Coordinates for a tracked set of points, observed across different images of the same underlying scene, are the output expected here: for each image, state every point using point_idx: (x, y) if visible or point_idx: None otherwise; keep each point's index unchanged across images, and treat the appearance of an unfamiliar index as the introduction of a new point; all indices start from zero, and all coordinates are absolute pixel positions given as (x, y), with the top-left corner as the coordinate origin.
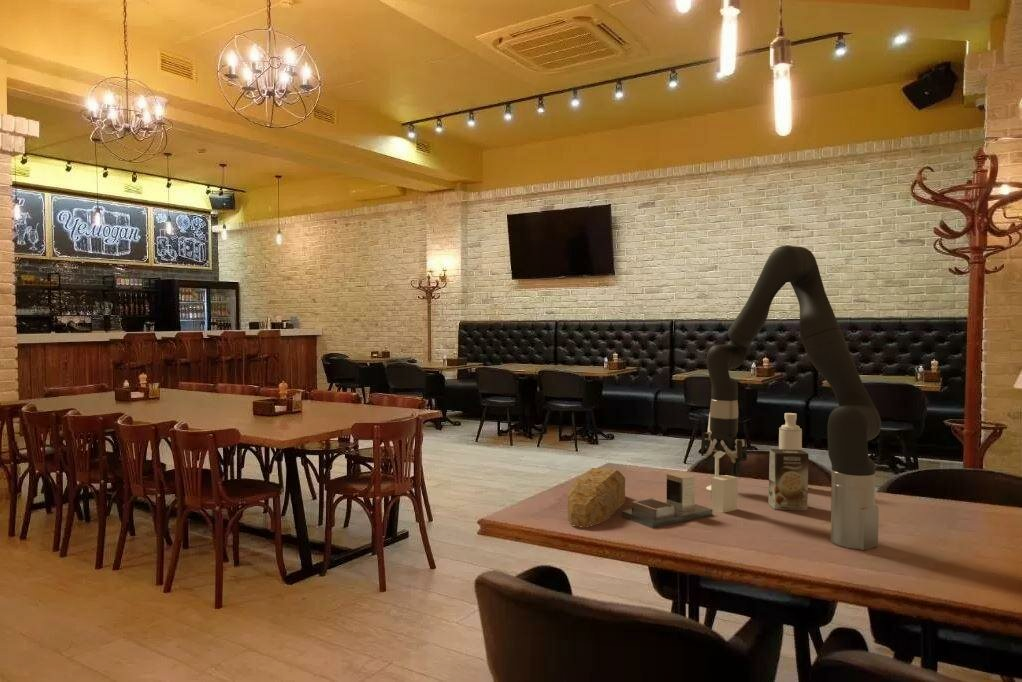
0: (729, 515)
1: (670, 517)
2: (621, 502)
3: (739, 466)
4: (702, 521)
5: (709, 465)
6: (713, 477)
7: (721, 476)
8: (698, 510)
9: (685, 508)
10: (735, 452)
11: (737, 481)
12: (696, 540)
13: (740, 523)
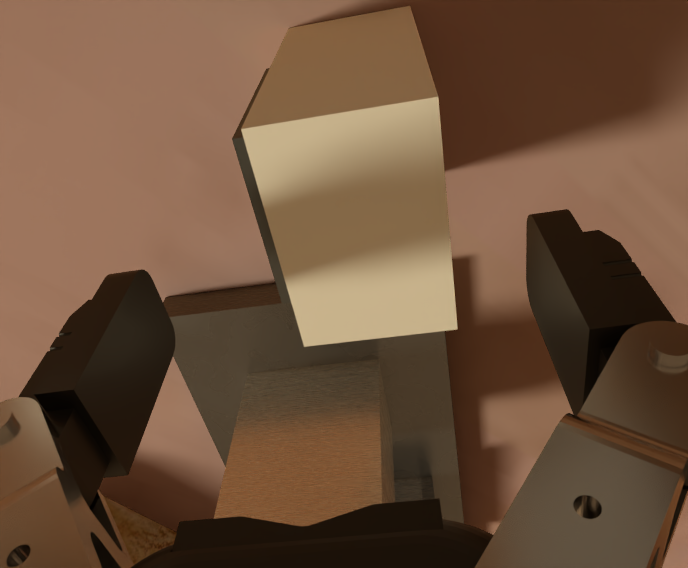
0: (502, 175)
1: (452, 506)
2: (117, 518)
3: (655, 309)
4: (505, 371)
5: (161, 384)
6: (306, 329)
7: (297, 235)
8: (418, 360)
9: (389, 422)
10: (665, 539)
11: (432, 80)
12: (684, 510)
13: (670, 226)
